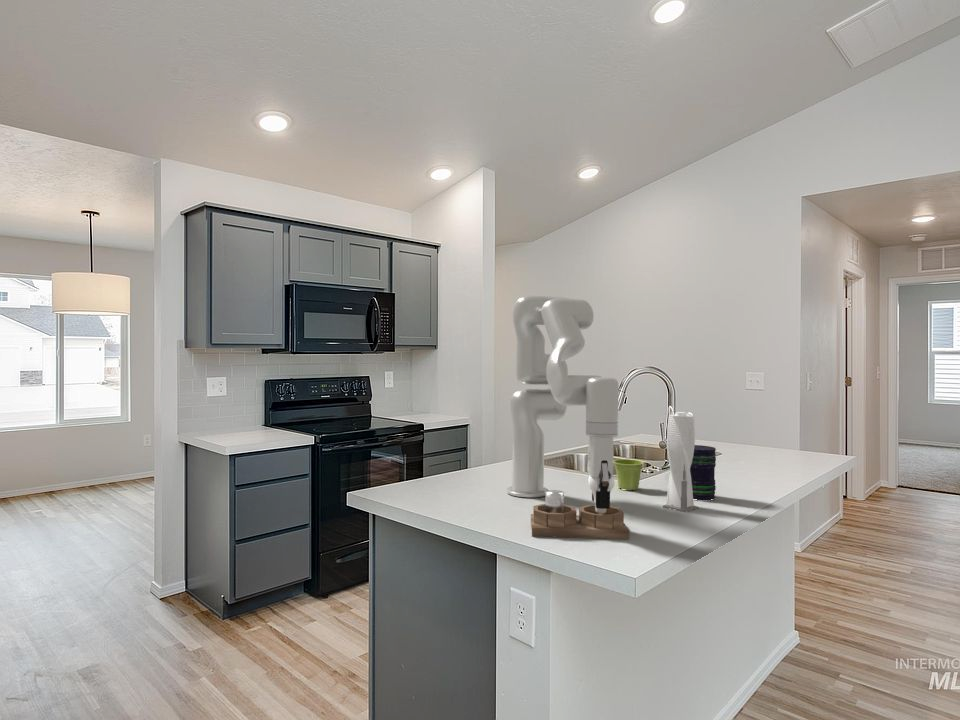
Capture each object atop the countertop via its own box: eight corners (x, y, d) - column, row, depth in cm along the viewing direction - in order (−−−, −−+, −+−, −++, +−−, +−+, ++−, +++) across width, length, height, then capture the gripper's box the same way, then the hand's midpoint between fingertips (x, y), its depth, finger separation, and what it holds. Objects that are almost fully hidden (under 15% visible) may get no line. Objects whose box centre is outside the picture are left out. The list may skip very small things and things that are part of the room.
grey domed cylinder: (544, 518, 143) (545, 489, 143) (563, 519, 143) (563, 490, 143) (545, 523, 139) (546, 493, 139) (564, 524, 139) (564, 494, 139)
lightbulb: (582, 514, 141) (583, 468, 141) (597, 510, 145) (598, 465, 145) (604, 519, 136) (605, 472, 136) (618, 515, 141) (619, 469, 141)
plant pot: (638, 493, 181) (638, 465, 181) (608, 489, 186) (609, 462, 186) (647, 488, 189) (647, 461, 189) (618, 484, 194) (618, 458, 194)
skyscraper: (657, 506, 166) (659, 406, 166) (673, 501, 171) (675, 405, 171) (685, 512, 159) (686, 408, 159) (701, 507, 164) (702, 407, 164)
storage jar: (704, 502, 170) (704, 450, 170) (674, 496, 178) (674, 446, 178) (721, 497, 177) (722, 447, 177) (691, 491, 184) (692, 444, 184)
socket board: (530, 522, 147) (530, 502, 147) (619, 524, 146) (619, 504, 146) (532, 536, 135) (532, 514, 135) (629, 539, 134) (629, 517, 134)
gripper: (581, 424, 149) (580, 495, 149) (590, 433, 132) (589, 513, 132) (611, 425, 149) (610, 496, 149) (624, 434, 132) (623, 514, 132)
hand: (600, 504), depth 141 cm, fingers closed on lightbulb, 5 cm apart
